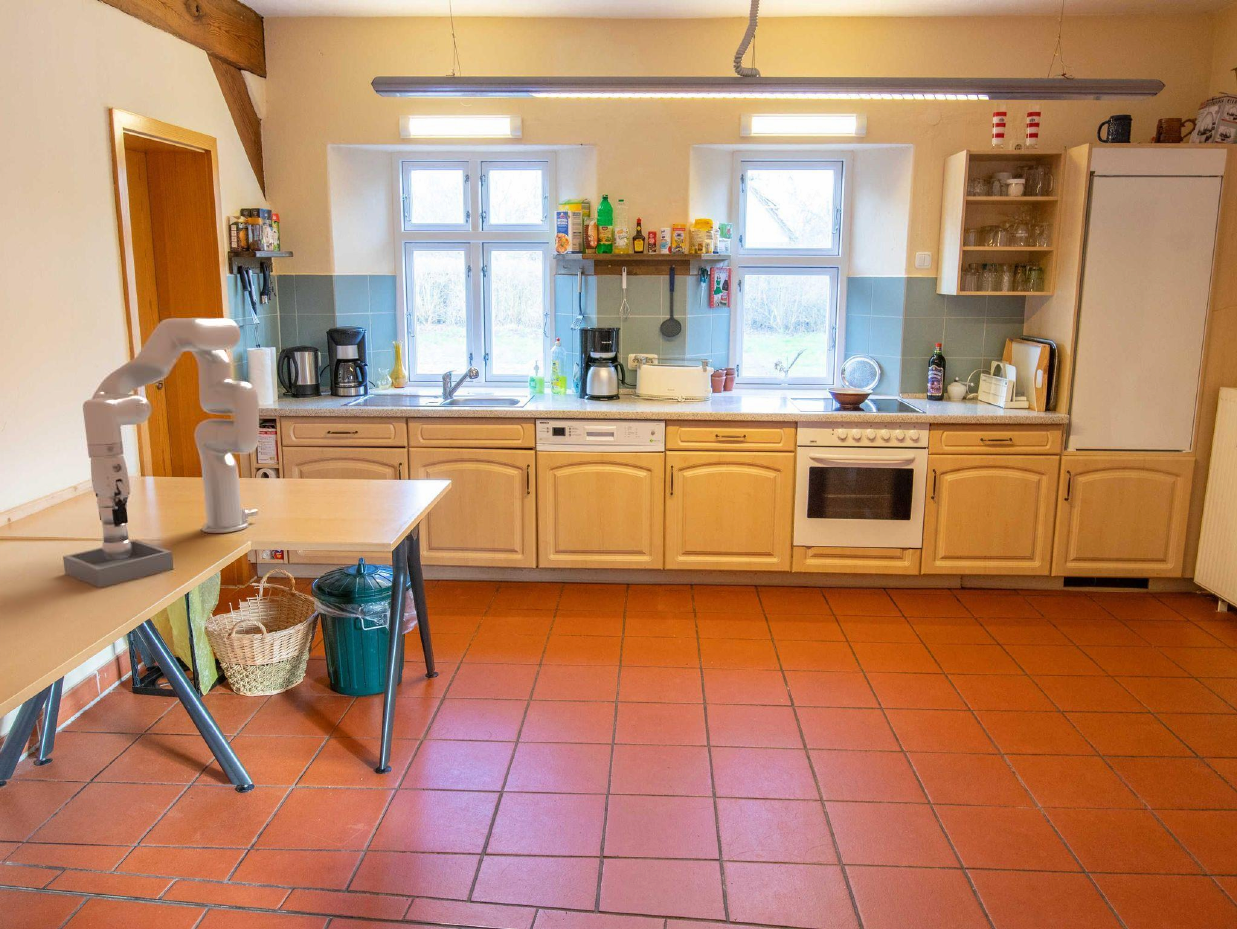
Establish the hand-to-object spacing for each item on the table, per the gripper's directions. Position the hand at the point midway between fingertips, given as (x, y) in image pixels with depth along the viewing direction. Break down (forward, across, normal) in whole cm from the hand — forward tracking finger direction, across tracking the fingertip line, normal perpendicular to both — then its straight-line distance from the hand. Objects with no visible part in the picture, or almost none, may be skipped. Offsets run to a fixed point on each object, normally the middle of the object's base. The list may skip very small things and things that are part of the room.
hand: (113, 521), depth 239 cm
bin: (+13, 0, 0) cm, 13 cm away
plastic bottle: (+10, 0, 0) cm, 10 cm away
